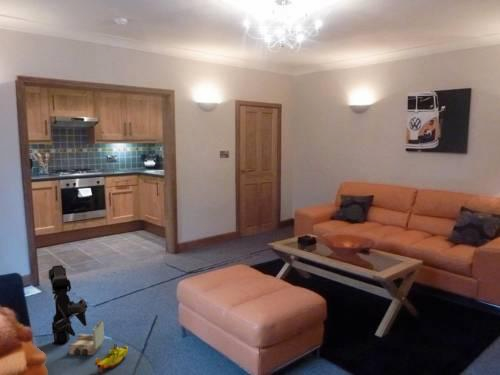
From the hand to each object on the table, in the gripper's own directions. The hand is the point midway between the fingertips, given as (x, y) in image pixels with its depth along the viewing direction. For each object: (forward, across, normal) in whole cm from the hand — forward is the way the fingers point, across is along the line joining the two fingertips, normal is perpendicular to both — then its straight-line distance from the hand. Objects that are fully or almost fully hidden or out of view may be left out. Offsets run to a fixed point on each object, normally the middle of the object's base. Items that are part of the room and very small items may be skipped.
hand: (80, 330), depth 193 cm
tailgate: (+12, +5, -1) cm, 13 cm away
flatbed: (+11, +4, +7) cm, 14 cm away
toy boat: (+20, -5, -12) cm, 24 cm away
